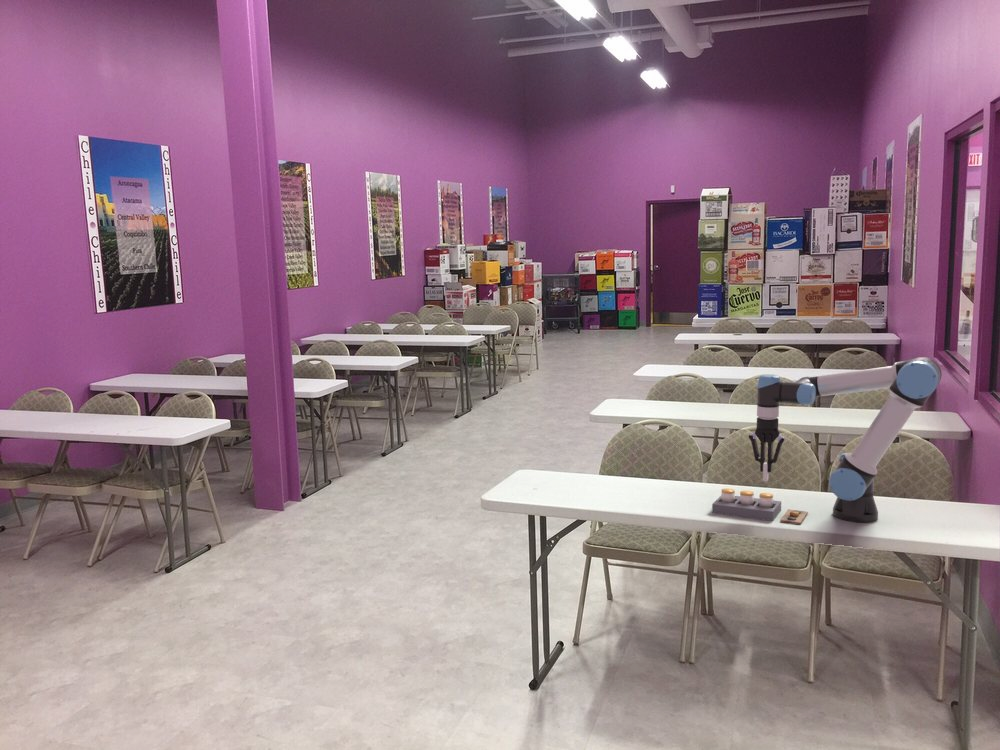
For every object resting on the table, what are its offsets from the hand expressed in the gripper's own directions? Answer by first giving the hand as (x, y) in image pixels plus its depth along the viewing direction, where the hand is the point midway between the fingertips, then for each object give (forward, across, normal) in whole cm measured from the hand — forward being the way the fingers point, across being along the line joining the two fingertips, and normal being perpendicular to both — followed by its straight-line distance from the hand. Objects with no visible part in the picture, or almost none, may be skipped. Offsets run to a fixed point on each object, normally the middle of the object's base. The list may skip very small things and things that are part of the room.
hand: (765, 480), depth 299 cm
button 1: (+10, +14, 0) cm, 17 cm away
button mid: (+10, +7, 0) cm, 12 cm away
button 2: (+10, 0, 0) cm, 10 cm away
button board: (+13, +6, 0) cm, 14 cm away
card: (+13, -10, 0) cm, 16 cm away
